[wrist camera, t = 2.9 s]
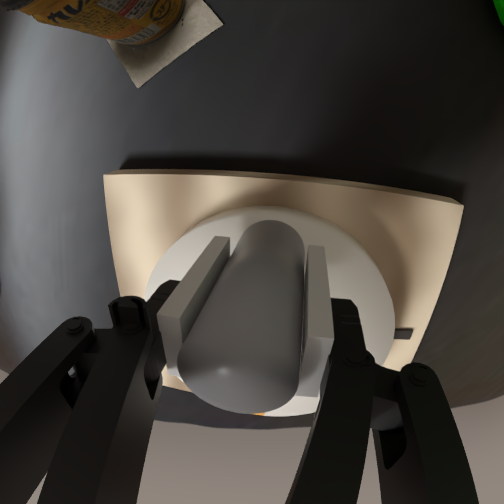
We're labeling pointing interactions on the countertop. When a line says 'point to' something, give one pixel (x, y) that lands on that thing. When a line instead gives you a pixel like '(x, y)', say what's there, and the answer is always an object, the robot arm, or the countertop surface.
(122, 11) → the condiment
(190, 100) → the countertop surface
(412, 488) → the robot arm
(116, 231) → the dial panel
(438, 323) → the countertop surface
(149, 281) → the dial
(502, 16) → the plastic bottle
